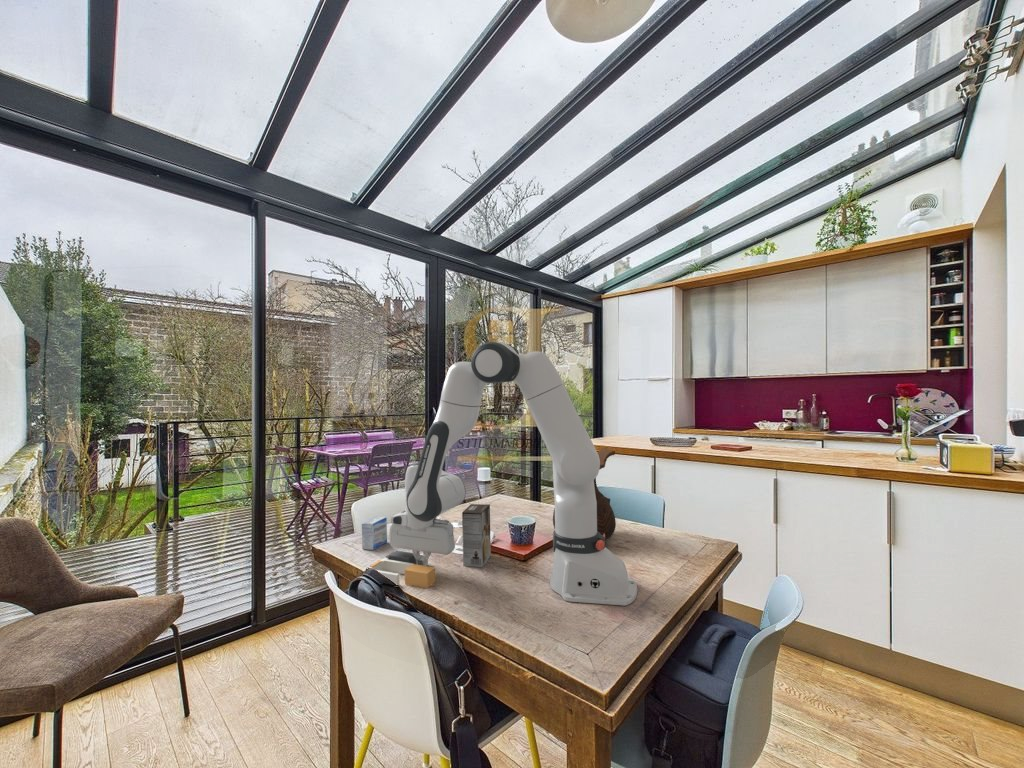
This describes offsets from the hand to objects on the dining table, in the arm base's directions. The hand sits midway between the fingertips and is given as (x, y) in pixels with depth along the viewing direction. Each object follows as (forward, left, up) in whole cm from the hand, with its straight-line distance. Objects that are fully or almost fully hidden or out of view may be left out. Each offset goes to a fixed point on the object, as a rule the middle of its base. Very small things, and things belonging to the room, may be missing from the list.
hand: (422, 565), depth 127 cm
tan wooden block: (-4, +7, -2) cm, 8 cm away
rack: (+6, +4, -1) cm, 7 cm away
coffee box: (-12, -11, -2) cm, 17 cm away
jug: (-39, -39, -2) cm, 56 cm away
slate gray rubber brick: (+7, 0, -2) cm, 7 cm away
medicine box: (+26, -11, -2) cm, 28 cm away
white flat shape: (+5, -30, -2) cm, 30 cm away
